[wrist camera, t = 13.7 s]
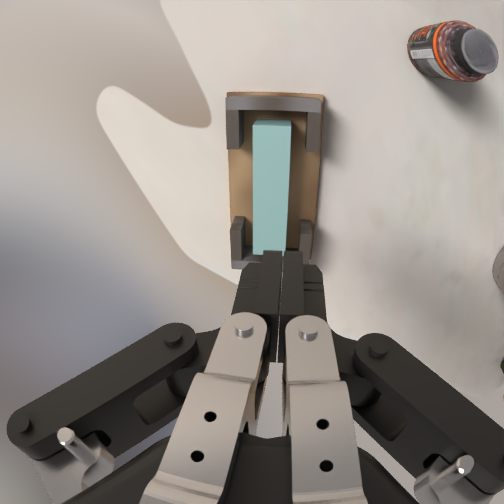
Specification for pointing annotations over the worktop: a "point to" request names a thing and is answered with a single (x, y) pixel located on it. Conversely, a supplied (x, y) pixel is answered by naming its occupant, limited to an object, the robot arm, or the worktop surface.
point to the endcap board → (300, 175)
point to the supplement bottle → (453, 51)
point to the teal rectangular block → (270, 183)
